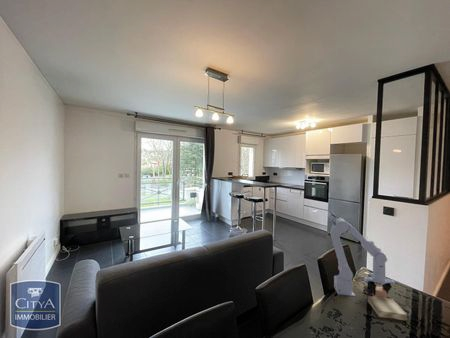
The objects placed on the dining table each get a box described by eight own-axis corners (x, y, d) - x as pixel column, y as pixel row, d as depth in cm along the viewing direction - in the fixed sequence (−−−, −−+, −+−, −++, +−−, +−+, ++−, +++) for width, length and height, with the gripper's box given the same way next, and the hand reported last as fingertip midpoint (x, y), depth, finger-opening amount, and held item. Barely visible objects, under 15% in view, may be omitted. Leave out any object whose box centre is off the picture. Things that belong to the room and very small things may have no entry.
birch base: (379, 316, 99) (379, 310, 99) (367, 301, 111) (367, 295, 111) (407, 320, 96) (407, 314, 96) (392, 304, 108) (392, 298, 108)
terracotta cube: (376, 299, 112) (376, 290, 112) (372, 294, 117) (372, 285, 117) (386, 300, 110) (386, 292, 110) (382, 295, 115) (381, 286, 115)
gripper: (368, 273, 111) (368, 297, 111) (398, 276, 108) (398, 301, 108) (362, 267, 118) (362, 290, 118) (390, 270, 115) (390, 293, 115)
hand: (379, 294), depth 114 cm, fingers closed on terracotta cube, 5 cm apart
